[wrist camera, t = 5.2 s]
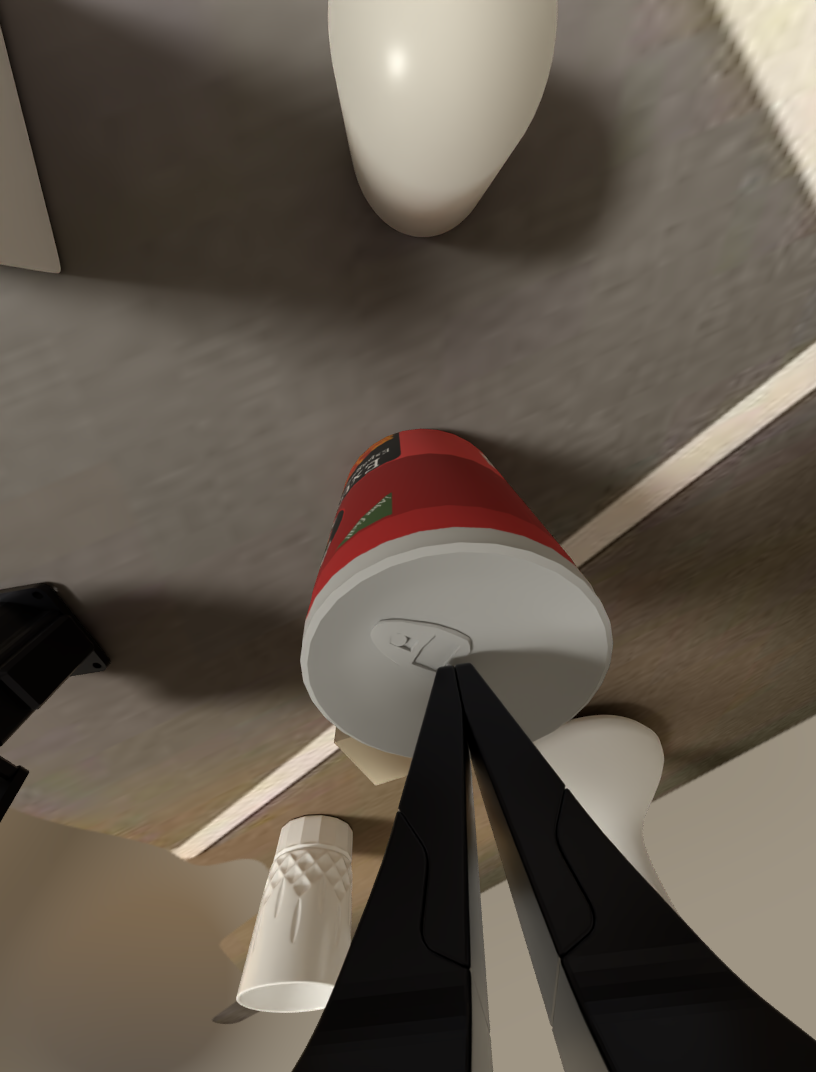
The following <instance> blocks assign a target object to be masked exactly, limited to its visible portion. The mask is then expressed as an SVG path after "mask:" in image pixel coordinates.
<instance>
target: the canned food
mask: <svg viewBox="0 0 816 1072" xmlns="http://www.w3.org/2000/svg"><path fill="white" fill-rule="evenodd" d="M612 648H613V639H612V631H611V624H610V620H609V618H608V616H607V614H606V611H605V609H604V607H603V605H602V603H601V601H600V599H599V598H598V597H597V596H596V594H595V592H594V590H593V587H592V585H591V584H590V583H589V581H588V580H587V579H586V578H585V577H584V575H583V574H582V573H581V572H580V570H579V569H578V568H577V567H576V565H575V564H574V562H573V561H572V559H571V558H570V557H569V556H568V555H567V553H566V552H565V551H564V550H563V548H562V547H561V546H560V545H559V544H558V542H557V541H556V540H555V539H554V538H553V536H552V535H551V534H550V533H549V532H548V531H547V529H546V528H545V527H544V526H543V525H542V523H541V522H540V521H539V520H538V519H537V517H536V516H535V515H534V514H533V513H532V511H531V510H530V509H529V508H528V507H527V505H526V504H525V503H524V502H523V501H522V499H521V498H520V497H519V496H518V495H517V493H516V492H515V491H514V490H513V489H512V487H511V486H510V485H509V484H508V483H507V481H506V480H505V479H504V478H503V477H502V475H501V474H500V473H499V472H498V471H497V470H496V468H495V467H494V466H493V465H492V464H491V462H490V461H489V460H488V459H487V458H486V456H485V455H484V454H483V453H482V452H481V451H480V450H479V449H478V448H476V447H475V446H474V445H472V444H471V443H470V442H468V441H466V440H464V439H462V438H460V437H458V436H456V435H454V434H451V433H447V432H443V431H440V430H431V429H415V430H407V431H402V432H399V433H396V434H393V435H390V436H387V437H385V438H384V439H382V440H380V441H379V442H377V443H375V444H373V445H372V446H371V447H370V448H369V449H368V450H367V451H365V452H364V453H363V454H362V455H361V456H360V457H359V459H358V460H357V462H356V463H355V465H354V466H353V467H352V469H351V471H350V474H349V476H348V478H347V481H346V484H345V487H344V490H343V493H342V497H341V500H340V503H339V507H338V510H337V513H336V517H335V520H334V523H333V527H332V530H331V533H330V537H329V540H328V543H327V546H326V550H325V553H324V556H323V560H322V563H321V566H320V570H319V573H318V576H317V580H316V583H315V586H314V590H313V593H312V599H311V603H310V606H309V610H308V613H307V617H306V620H305V627H304V634H303V641H302V651H301V658H300V663H301V669H302V676H303V682H304V684H305V686H306V689H307V691H308V693H309V695H310V697H311V700H312V701H313V703H314V704H315V705H316V707H317V708H318V709H319V710H320V712H321V713H322V714H323V715H324V717H325V718H326V719H327V720H329V721H330V722H331V723H332V724H333V725H335V726H336V727H337V728H338V729H339V730H341V731H342V732H343V733H345V734H347V735H349V736H350V737H352V738H354V739H356V740H357V741H359V742H361V743H363V744H365V745H368V746H370V747H373V748H376V749H378V750H381V751H384V752H387V753H391V754H396V755H400V756H404V757H408V758H412V757H413V753H414V750H415V746H416V743H417V739H418V736H419V732H420V728H421V725H422V721H423V718H424V714H425V711H426V707H427V703H428V700H429V696H430V693H431V689H432V686H433V682H434V678H435V675H436V671H437V669H438V668H439V667H441V666H448V665H453V666H454V668H455V665H456V664H461V663H467V662H469V663H471V664H472V665H473V666H474V667H475V668H476V670H477V671H478V672H479V674H480V675H481V676H482V677H483V679H484V680H485V681H486V683H487V684H488V685H489V687H490V688H491V689H492V690H493V692H494V693H495V694H496V696H497V697H498V698H499V699H500V701H501V702H502V703H503V705H504V706H505V707H506V709H507V710H508V711H509V712H510V714H511V715H512V716H513V718H514V719H515V720H516V722H517V723H518V724H519V725H520V727H521V728H522V729H523V731H524V732H525V733H526V735H527V736H528V737H529V738H530V740H531V741H532V742H534V741H536V740H538V739H540V738H542V737H544V736H546V735H548V734H550V733H552V732H553V731H555V730H556V729H558V728H559V727H561V726H562V725H563V724H565V723H566V722H568V721H569V720H571V719H572V718H573V717H574V716H575V715H576V714H577V713H578V712H579V711H580V710H581V709H582V708H584V707H585V706H586V705H587V704H588V703H589V701H590V700H591V699H592V697H593V696H594V694H595V693H596V692H597V690H598V689H599V687H600V686H601V685H602V682H603V680H604V678H605V675H606V673H607V671H608V668H609V666H610V661H611V655H612ZM468 747H469V746H468ZM469 754H470V751H469ZM470 759H471V756H470Z"/></svg>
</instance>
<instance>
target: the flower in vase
mask: <svg viewBox="0 0 816 1072" xmlns="http://www.w3.org/2000/svg"><path fill="white" fill-rule="evenodd" d="M533 744H534V745H535V746H536V747H537V749H538V750H539V751H540V753H541V754H542V755H543V757H544V758H545V759H546V760H547V762H548V763H549V764H550V766H551V767H552V768H553V770H554V771H555V772H556V773H557V775H558V776H559V777H560V779H561V780H562V781H563V783H564V784H565V789H566V788H568V789H569V790H570V791H571V793H572V794H573V795H574V797H575V798H576V799H577V800H578V802H579V803H580V804H581V806H582V807H583V808H584V809H585V811H586V812H587V813H588V814H589V815H590V817H591V818H592V819H593V820H594V822H595V823H596V824H597V825H598V827H599V828H600V829H601V830H602V832H603V833H604V834H605V835H606V836H607V837H608V838H609V840H610V841H611V842H612V843H613V844H614V845H615V846H616V847H617V849H618V850H619V851H620V852H621V853H622V854H623V855H624V856H625V858H626V859H627V860H628V861H629V862H630V863H631V864H632V865H633V866H634V868H635V869H636V870H637V871H638V872H639V873H640V874H641V875H642V876H643V877H644V878H645V879H646V880H647V882H648V883H649V884H650V885H651V886H652V887H653V888H654V889H655V890H656V891H657V892H658V893H659V894H660V896H661V897H662V898H663V899H664V900H665V901H666V902H667V903H668V904H669V905H670V906H671V907H672V909H673V910H674V911H675V912H676V913H677V914H678V912H677V910H676V909H675V907H674V905H673V904H672V902H671V900H670V898H669V896H668V894H667V893H666V891H665V889H664V887H663V885H662V883H661V881H660V880H659V878H658V875H657V873H656V871H655V869H654V867H653V865H652V862H651V860H650V858H649V855H648V853H647V850H646V847H645V844H644V839H643V831H642V830H643V823H644V818H645V816H646V813H647V810H648V808H649V806H650V804H651V801H652V799H653V797H654V794H655V792H656V789H657V787H658V784H659V782H660V779H661V775H662V770H663V765H664V753H663V750H662V746H661V742H660V740H659V737H658V736H657V735H656V733H655V732H653V731H652V730H651V729H650V728H648V727H646V726H645V725H643V724H641V723H639V722H637V721H635V720H633V719H630V718H627V717H622V716H616V715H593V716H585V717H580V718H576V719H572V720H569V721H568V722H566V723H565V724H563V725H562V726H561V727H559V728H558V729H556V730H555V731H553V732H552V733H550V734H548V735H546V736H544V737H542V738H540V739H538V740H536V741H534V742H533ZM678 915H679V914H678ZM679 916H680V915H679Z"/></svg>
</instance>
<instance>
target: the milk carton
mask: <svg viewBox="0 0 816 1072" xmlns="http://www.w3.org/2000/svg"><path fill="white" fill-rule="evenodd" d="M0 264H1V265H7V266H12V267H18V268H24V269H30V270H36V271H42V272H48V273H59V272H60V271H61V267H60V262H59V257H58V253H57V249H56V245H55V241H54V237H53V233H52V229H51V225H50V221H49V217H48V213H47V209H46V205H45V201H44V197H43V193H42V189H41V185H40V181H39V177H38V173H37V169H36V165H35V161H34V157H33V153H32V149H31V145H30V141H29V137H28V133H27V129H26V125H25V122H24V118H23V114H22V110H21V106H20V102H19V98H18V94H17V90H16V86H15V82H14V78H13V74H12V70H11V66H10V62H9V58H8V54H7V50H6V46H5V42H4V38H3V34H2V30H1V26H0Z"/></svg>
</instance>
